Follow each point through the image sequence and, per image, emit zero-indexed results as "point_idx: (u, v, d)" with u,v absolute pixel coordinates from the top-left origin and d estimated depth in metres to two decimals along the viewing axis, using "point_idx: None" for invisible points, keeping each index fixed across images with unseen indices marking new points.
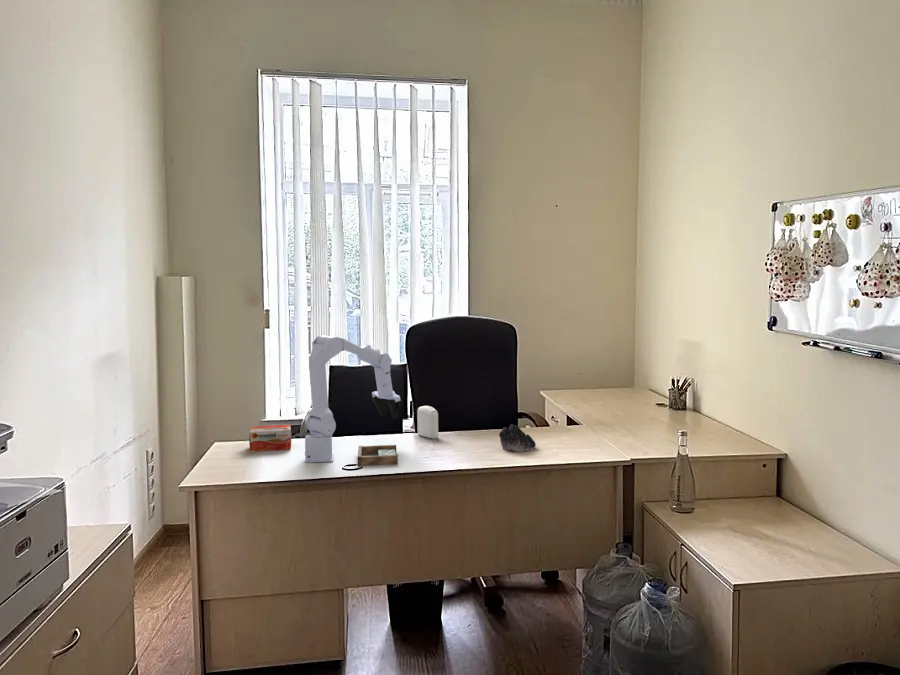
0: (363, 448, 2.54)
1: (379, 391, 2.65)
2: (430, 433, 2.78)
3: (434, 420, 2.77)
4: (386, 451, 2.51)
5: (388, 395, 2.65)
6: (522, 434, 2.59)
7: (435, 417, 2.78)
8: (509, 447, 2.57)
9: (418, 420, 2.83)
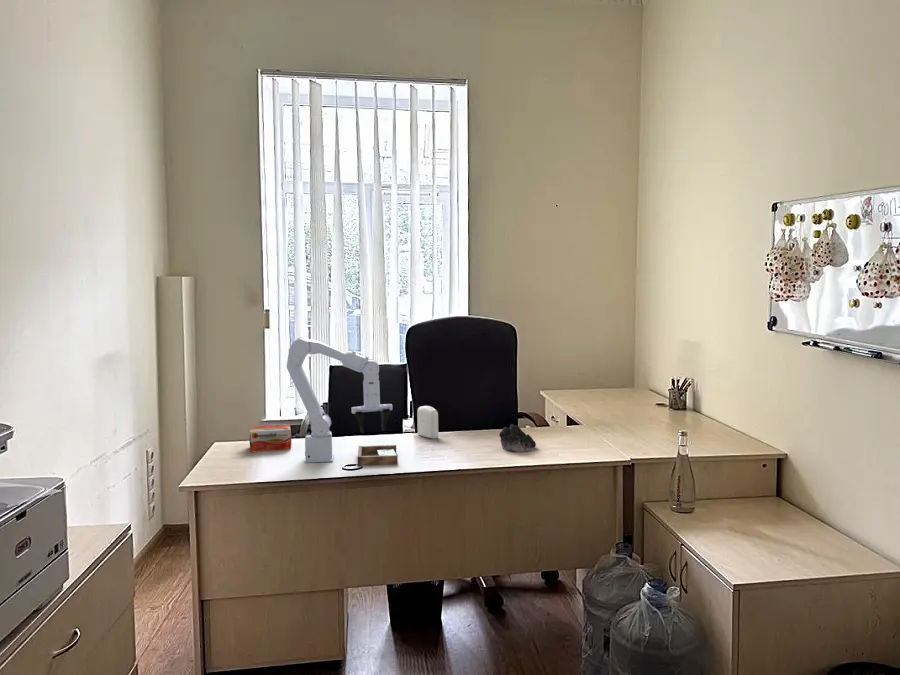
0: (363, 448, 2.54)
1: None
2: (430, 433, 2.78)
3: (434, 420, 2.77)
4: (385, 451, 2.51)
5: (363, 406, 2.48)
6: (522, 434, 2.59)
7: (435, 417, 2.78)
8: (509, 447, 2.57)
9: (418, 420, 2.83)
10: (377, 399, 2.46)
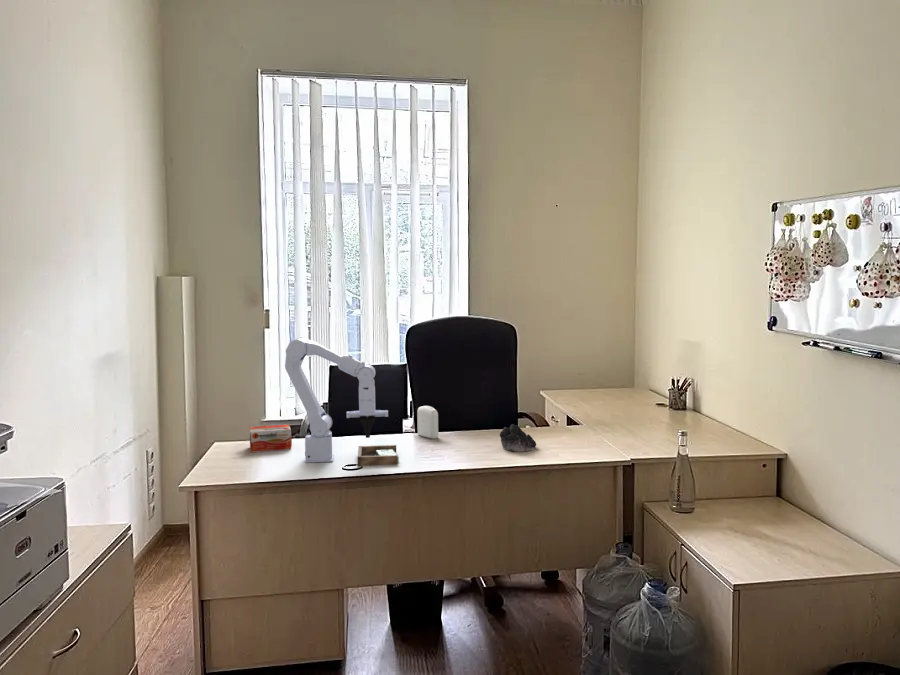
0: (363, 448, 2.54)
1: None
2: (430, 433, 2.78)
3: (434, 420, 2.77)
4: (385, 451, 2.51)
5: None
6: (523, 434, 2.59)
7: (435, 417, 2.78)
8: (510, 447, 2.57)
9: (418, 420, 2.83)
10: (371, 405, 2.44)
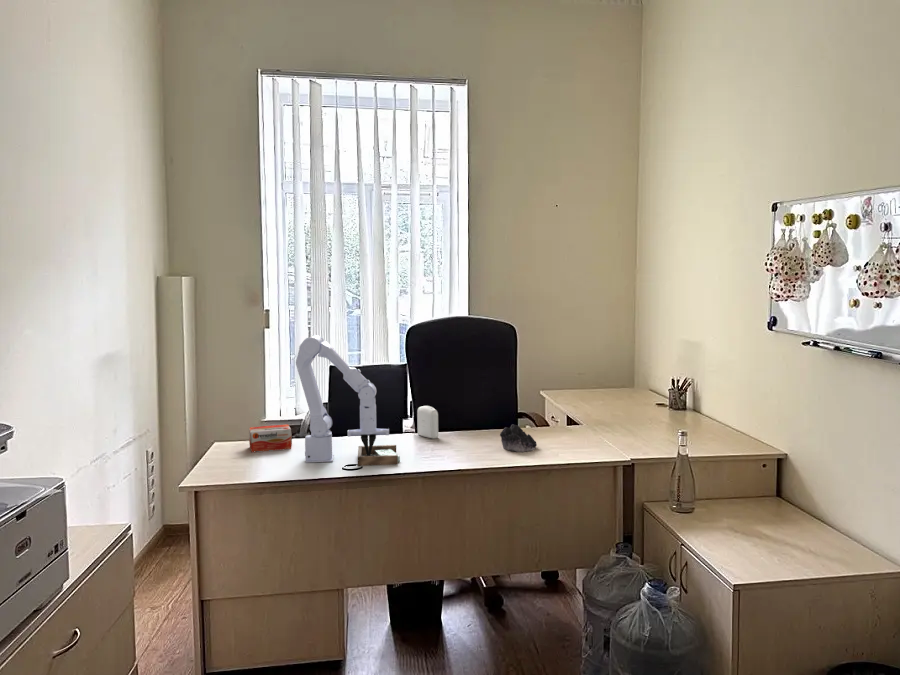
0: (363, 448, 2.54)
1: None
2: (430, 433, 2.78)
3: (434, 420, 2.77)
4: (384, 451, 2.51)
5: None
6: (523, 434, 2.59)
7: (435, 417, 2.78)
8: (510, 447, 2.57)
9: (418, 420, 2.83)
10: (372, 424, 2.44)
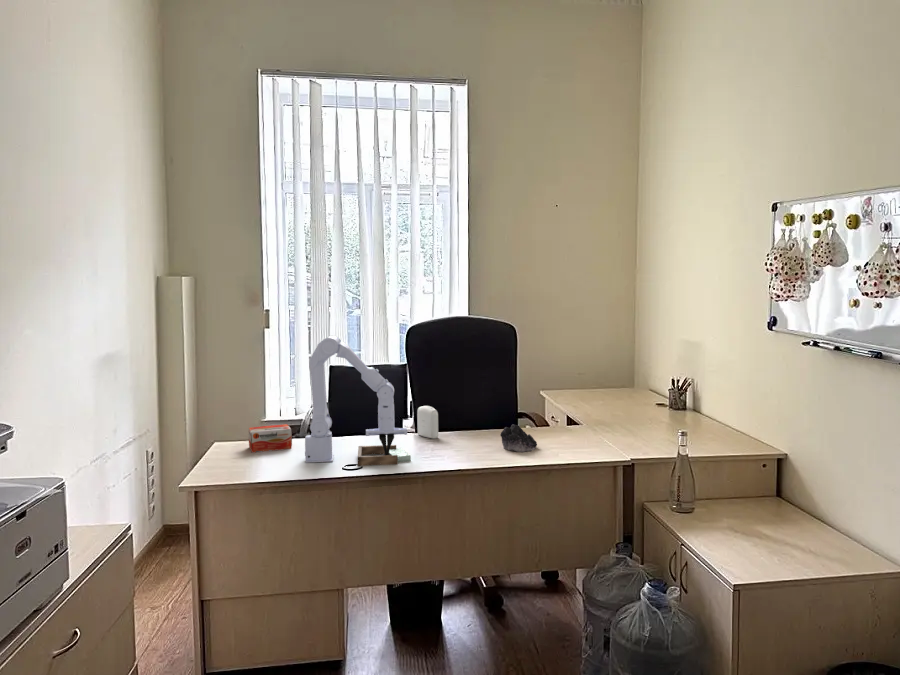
0: (363, 448, 2.54)
1: None
2: (430, 433, 2.78)
3: (434, 420, 2.77)
4: (395, 450, 2.52)
5: None
6: (523, 434, 2.59)
7: (435, 417, 2.78)
8: (510, 447, 2.57)
9: (418, 420, 2.83)
10: (390, 423, 2.45)
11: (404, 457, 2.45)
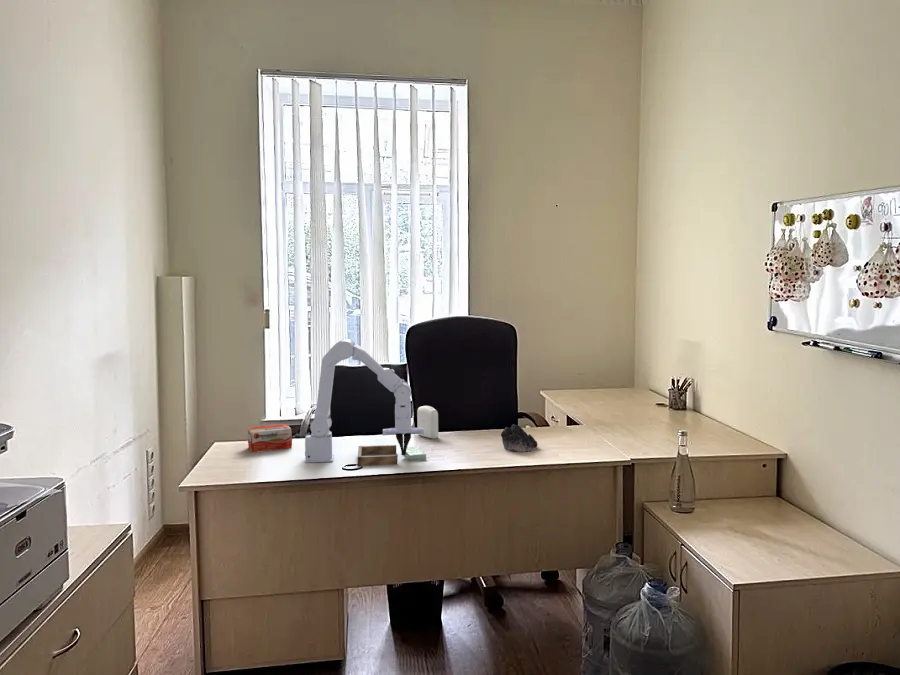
0: (363, 448, 2.54)
1: None
2: (430, 433, 2.78)
3: (434, 420, 2.77)
4: (411, 449, 2.54)
5: None
6: (524, 434, 2.59)
7: (435, 417, 2.78)
8: (511, 447, 2.57)
9: (418, 420, 2.83)
10: (407, 423, 2.46)
11: (420, 456, 2.46)
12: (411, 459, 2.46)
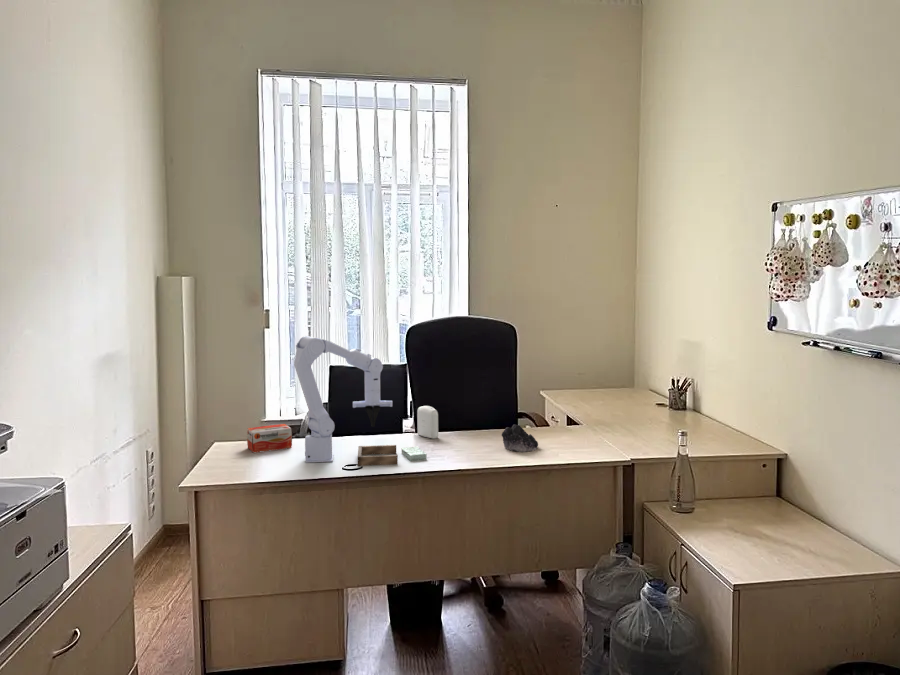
0: (363, 448, 2.54)
1: None
2: (430, 433, 2.78)
3: (434, 420, 2.77)
4: (411, 449, 2.54)
5: None
6: (525, 434, 2.60)
7: (435, 417, 2.78)
8: (512, 447, 2.57)
9: (418, 420, 2.83)
10: (376, 395, 2.55)
11: (420, 456, 2.47)
12: (411, 459, 2.46)
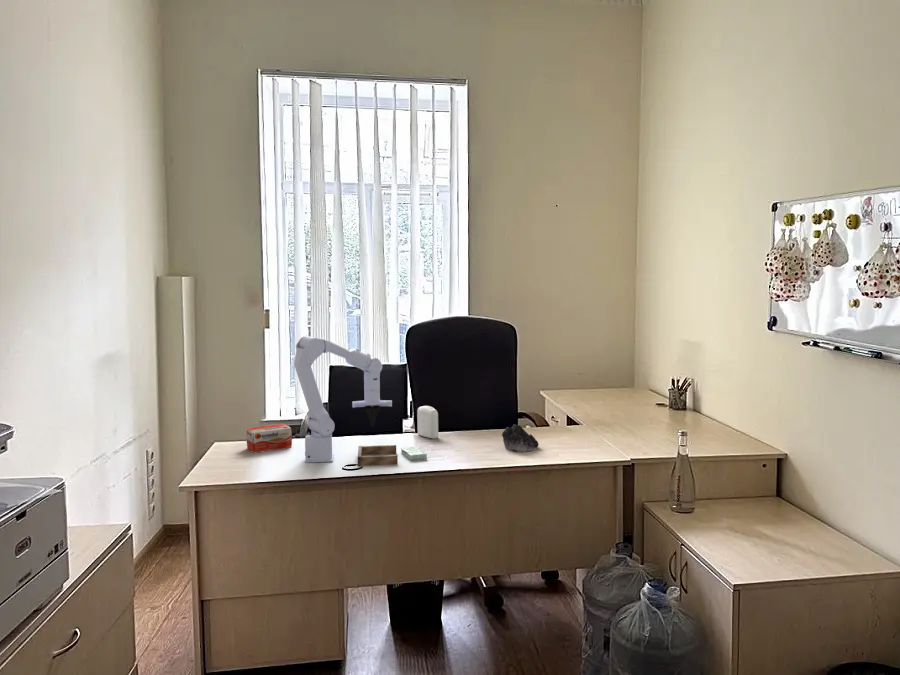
0: (363, 448, 2.54)
1: None
2: (430, 433, 2.78)
3: (434, 420, 2.77)
4: (411, 449, 2.54)
5: None
6: (525, 434, 2.60)
7: (435, 417, 2.78)
8: (512, 447, 2.57)
9: (418, 420, 2.83)
10: (375, 395, 2.56)
11: (420, 455, 2.47)
12: (412, 459, 2.46)
